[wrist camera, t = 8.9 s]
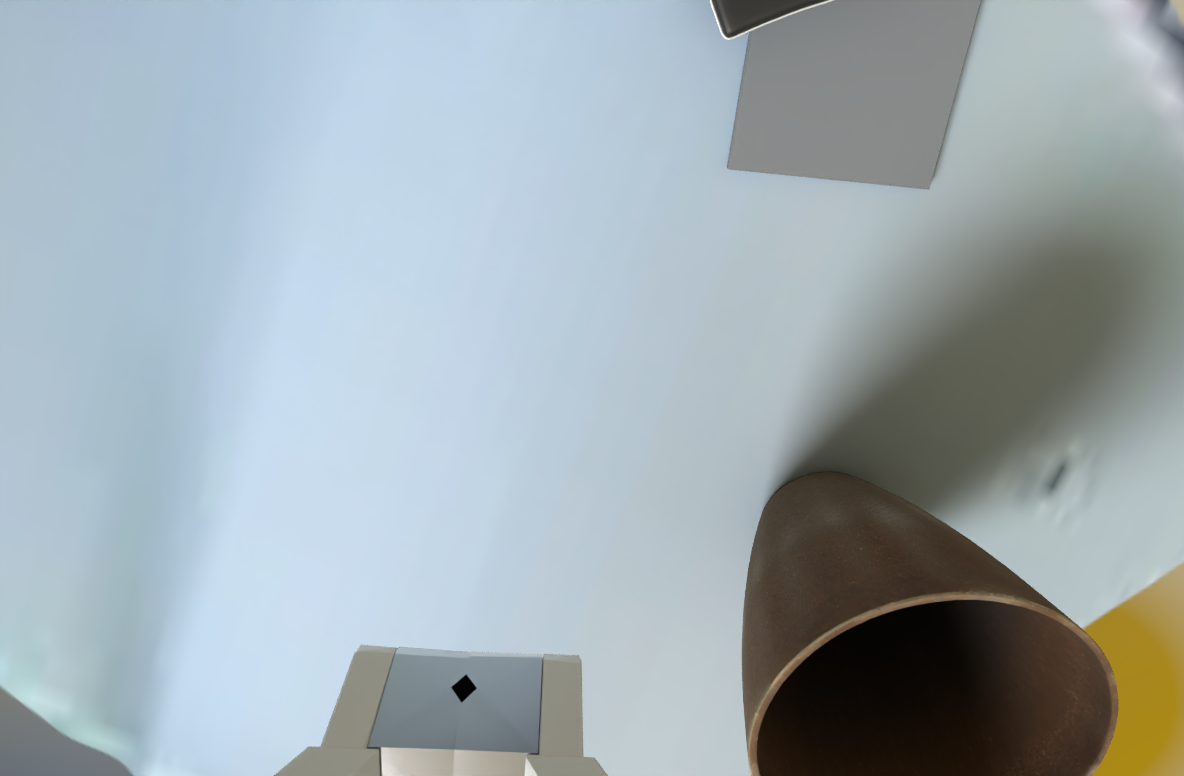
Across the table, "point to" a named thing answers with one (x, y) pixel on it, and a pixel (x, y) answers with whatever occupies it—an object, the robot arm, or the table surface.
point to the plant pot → (907, 649)
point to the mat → (852, 90)
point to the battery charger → (754, 13)
